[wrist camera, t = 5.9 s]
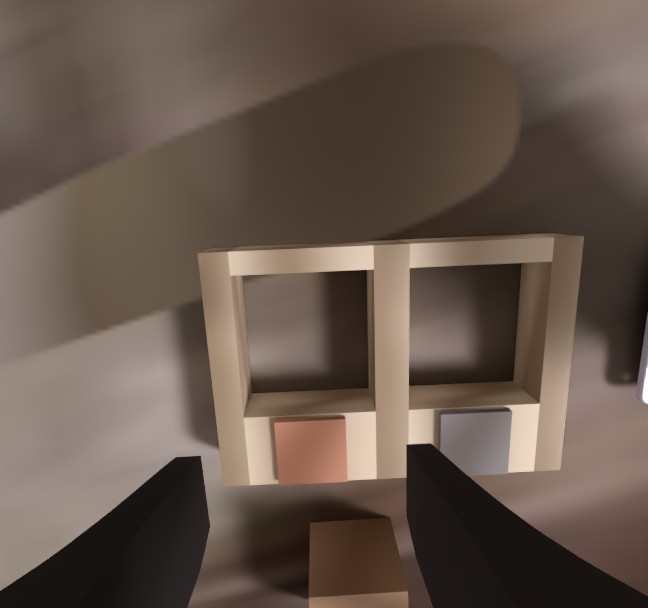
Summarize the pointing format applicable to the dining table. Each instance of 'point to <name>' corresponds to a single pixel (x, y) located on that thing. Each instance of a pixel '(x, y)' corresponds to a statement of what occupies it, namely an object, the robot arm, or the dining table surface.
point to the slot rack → (394, 367)
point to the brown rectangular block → (355, 565)
